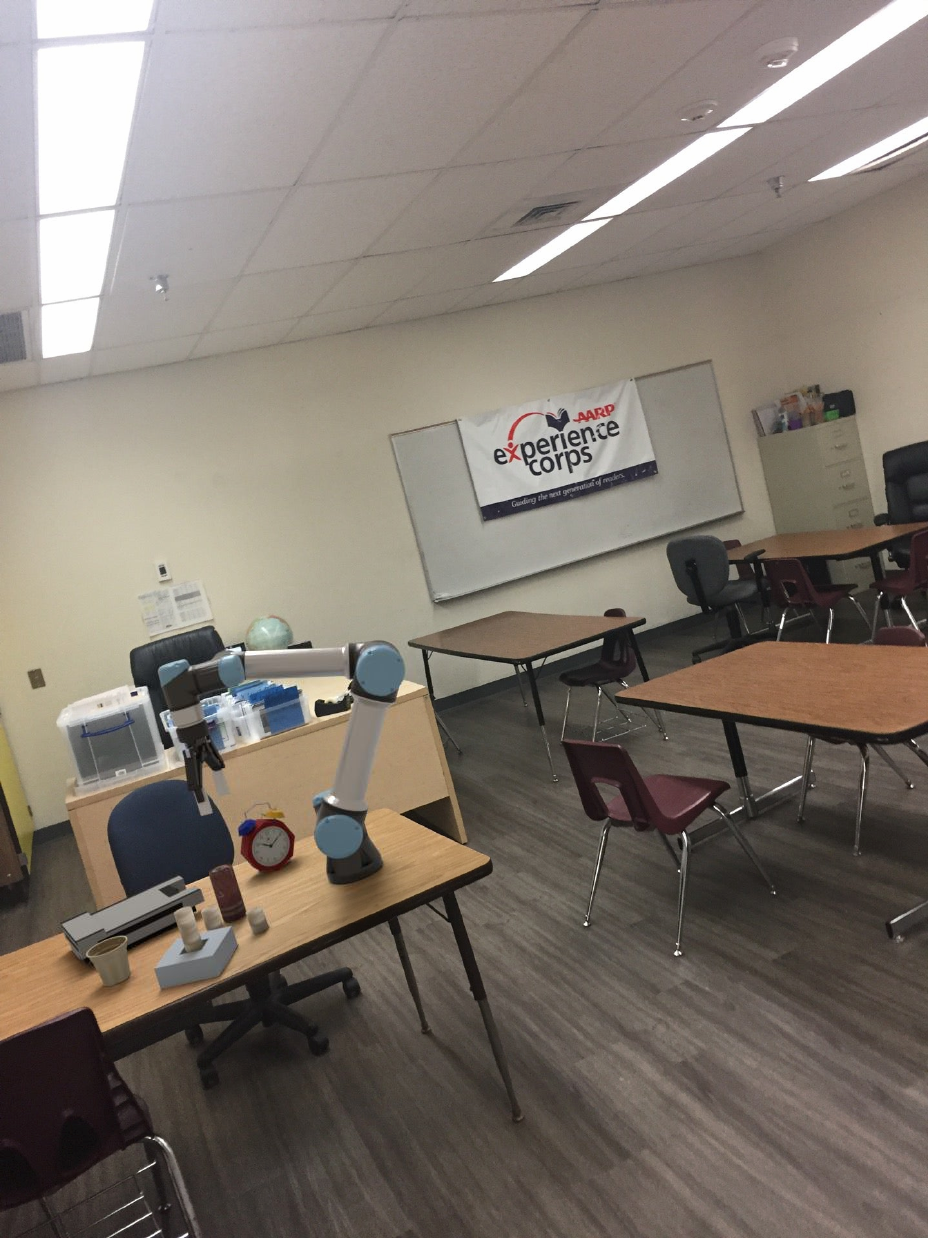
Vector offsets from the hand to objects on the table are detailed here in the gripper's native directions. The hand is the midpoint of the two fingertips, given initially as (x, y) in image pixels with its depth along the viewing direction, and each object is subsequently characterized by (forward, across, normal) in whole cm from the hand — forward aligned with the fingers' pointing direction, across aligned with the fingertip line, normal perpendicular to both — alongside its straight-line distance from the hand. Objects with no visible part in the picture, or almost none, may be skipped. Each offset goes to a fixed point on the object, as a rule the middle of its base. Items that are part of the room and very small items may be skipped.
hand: (215, 804), depth 228 cm
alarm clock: (+32, -35, -4) cm, 48 cm away
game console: (+32, -11, -35) cm, 49 cm away
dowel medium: (+32, +6, -7) cm, 33 cm away
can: (+32, -5, -6) cm, 33 cm away
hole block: (+31, +19, -7) cm, 37 cm away
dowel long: (+31, +19, -7) cm, 37 cm away
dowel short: (+32, +6, +4) cm, 32 cm away
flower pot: (+32, +16, -29) cm, 46 cm away
